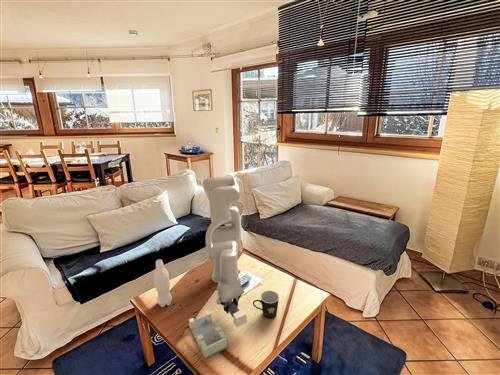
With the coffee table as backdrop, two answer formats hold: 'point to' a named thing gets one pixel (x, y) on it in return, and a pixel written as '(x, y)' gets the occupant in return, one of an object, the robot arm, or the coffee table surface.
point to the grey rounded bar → (236, 314)
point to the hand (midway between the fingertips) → (230, 308)
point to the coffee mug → (269, 304)
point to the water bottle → (162, 284)
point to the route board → (208, 335)
